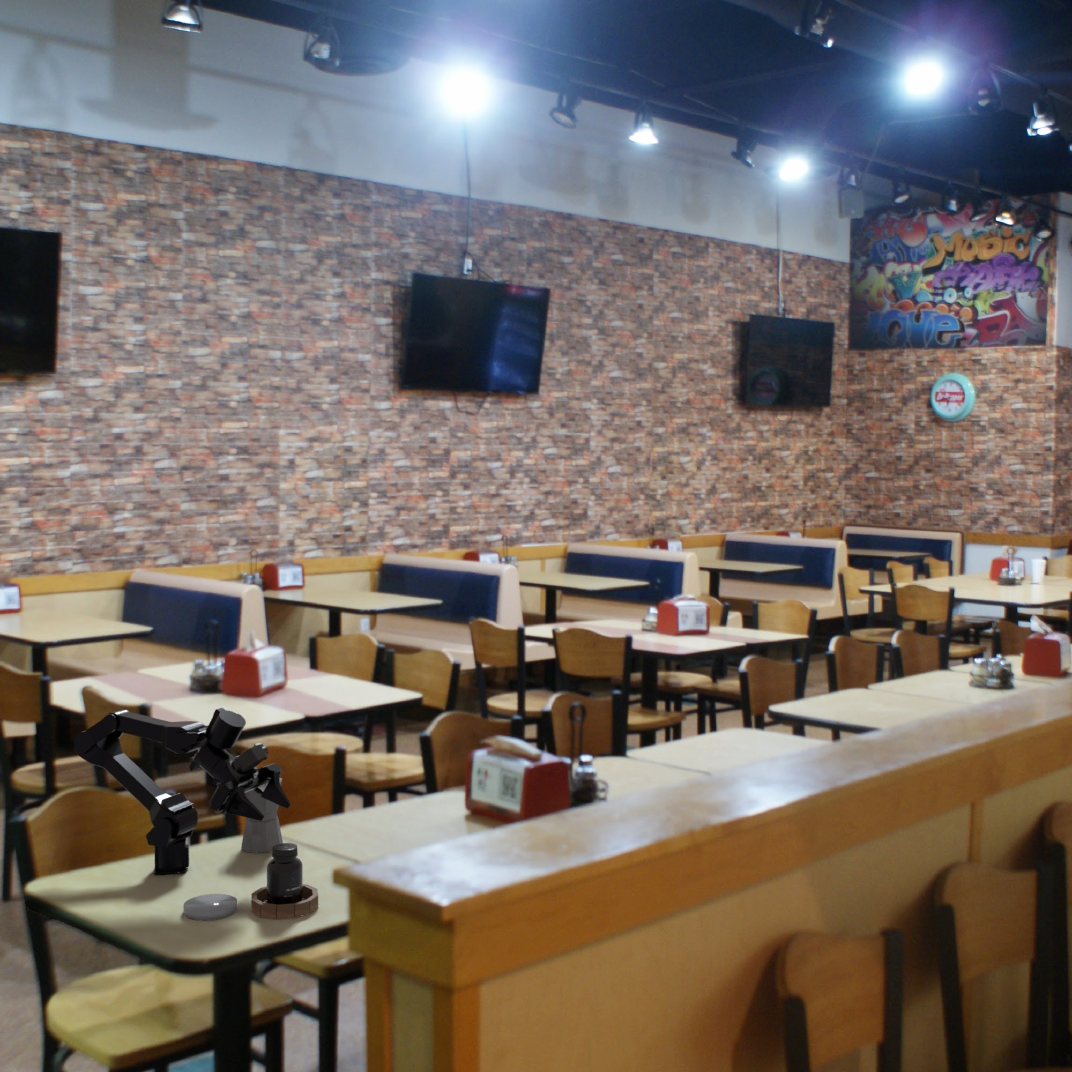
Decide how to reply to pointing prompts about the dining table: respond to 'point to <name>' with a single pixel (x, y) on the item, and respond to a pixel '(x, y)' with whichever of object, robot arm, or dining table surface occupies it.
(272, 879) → the supplement bottle
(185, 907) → the coaster
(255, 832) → the coffeepot
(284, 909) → the ring holder
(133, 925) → the dining table surface
